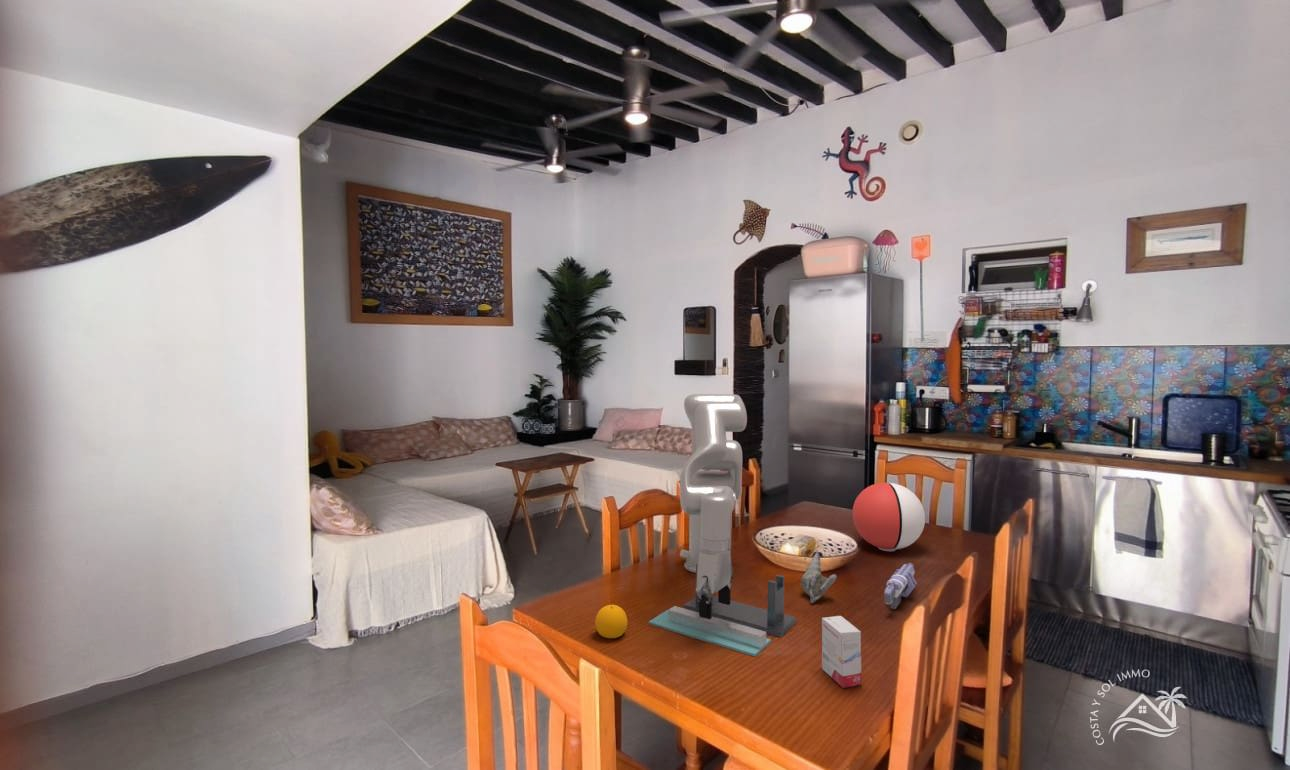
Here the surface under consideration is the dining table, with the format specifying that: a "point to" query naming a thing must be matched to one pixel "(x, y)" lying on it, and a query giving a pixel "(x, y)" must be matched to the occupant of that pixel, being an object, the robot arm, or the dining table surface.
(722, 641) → the mat
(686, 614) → the rail
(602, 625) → the yellow orange fruit
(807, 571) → the seashell
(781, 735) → the dining table surface
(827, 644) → the ink box
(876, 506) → the ball
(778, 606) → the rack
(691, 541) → the robot arm
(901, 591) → the toy gun
